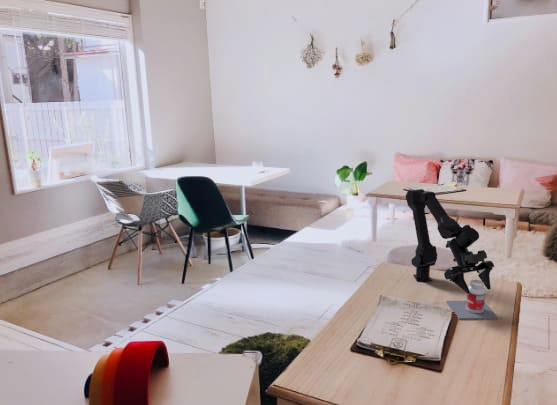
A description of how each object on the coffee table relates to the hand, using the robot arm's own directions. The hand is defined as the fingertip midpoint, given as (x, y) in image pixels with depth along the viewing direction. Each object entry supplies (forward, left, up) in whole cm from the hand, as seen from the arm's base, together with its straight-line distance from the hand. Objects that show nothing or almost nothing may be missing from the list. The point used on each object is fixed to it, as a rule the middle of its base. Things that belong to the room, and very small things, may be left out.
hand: (479, 291), depth 173 cm
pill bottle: (-1, -1, -8) cm, 8 cm away
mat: (-2, -1, -9) cm, 9 cm away
